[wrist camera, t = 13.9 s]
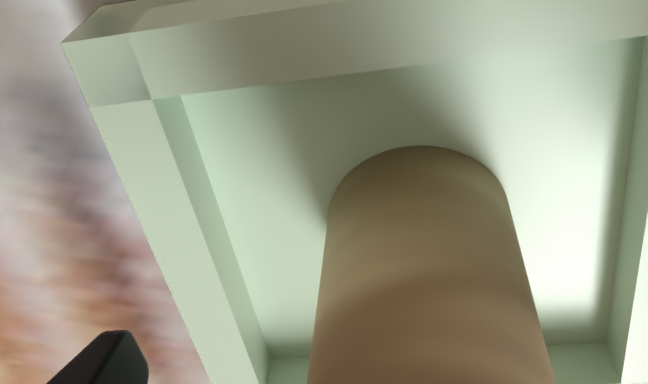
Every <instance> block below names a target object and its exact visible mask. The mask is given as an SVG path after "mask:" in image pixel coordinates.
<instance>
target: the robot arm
mask: <svg viewBox="0 0 648 384" xmlns="http://www.w3.org/2000/svg"><path fill="white" fill-rule="evenodd" d="M148 378H149V368H148V364H147V361H146V359H145V357H144V355H143V353H142V351H141V349H140V348H139V346H138V344H137V342H136V340H135V338H134V336H133V335H132V333H131V332H129V331H128V330H114V331H105V332H103V333H101V334H100V335H98V336H97V337H96V338H95V339H94V340H93V341H92V342H91V343H90V344H89V345H87V346H86V347H85V348H84V349H83V350H82V351H81V352H80V353H79V354H78V355H77V356H76V357H74V358H73V359H72V360H71V361H70V362H69V363H68V364H67V365H66V366H65V367H64V368H63V369H62V370H60V371H59V372H58V373H57V374H56V375H55V376H54V377H53V378H52V379H51V380H50V381H49V382H47V383H46V384H148Z"/></svg>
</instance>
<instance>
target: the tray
mask: <svg viewBox="0 0 648 384" xmlns="http://www.w3.org/2000/svg"><path fill="white" fill-rule="evenodd" d="M60 45H61V47H62V49H63V52H64V54H65V56H66V58H67V61H68V63H69V65H70V67H71V70H72V72H73V74H74V76H75V79H76V81H77V83H78V85H79V88H80V90H81V92H82V94H83V96H84V99H85V101H86V103H87V105H88V108H89V110H90V112H91V114H92V117H93V119H94V121H95V123H96V126H97V128H98V130H99V132H100V135H101V137H102V139H103V141H104V144H105V146H106V148H107V150H108V153H109V155H110V157H111V159H112V162H113V164H114V166H115V168H116V171H117V173H118V175H119V177H120V179H121V182H122V184H123V186H124V188H125V191H126V193H127V195H128V197H129V200H130V202H131V204H132V206H133V209H134V211H135V213H136V215H137V218H138V220H139V222H140V224H141V227H142V229H143V231H144V233H145V236H146V238H147V240H148V242H149V245H150V247H151V249H152V251H153V254H154V256H155V258H156V260H157V262H158V265H159V267H160V269H161V271H162V274H163V276H164V278H165V280H166V283H167V285H168V287H169V289H170V292H171V294H172V296H173V298H174V301H175V303H176V305H177V307H178V310H179V312H180V314H181V316H182V319H183V321H184V323H185V325H186V328H187V330H188V332H189V334H190V337H191V339H192V341H193V343H194V345H195V348H196V350H197V352H198V354H199V357H200V359H201V361H202V363H203V366H204V368H205V370H206V372H207V375H208V377H209V379H210V381H211V384H307V378H308V370H309V362H310V354H311V347H312V339H313V331H314V323H315V316H316V308H317V300H318V292H319V285H320V277H321V269H322V261H323V254H324V246H325V238H326V230H327V223H328V215H329V208H330V203H331V200H332V197H333V195H334V192H335V191H336V189H337V187H338V185H339V184H340V182H341V181H342V180H343V179H344V177H345V176H346V175H347V174H348V173H349V172H350V171H351V170H352V169H353V168H355V167H356V166H357V165H359V164H360V163H362V162H363V161H365V160H367V159H368V158H370V157H372V156H374V155H377V154H379V153H381V152H384V151H387V150H391V149H394V148H399V147H405V146H418V145H425V146H437V147H443V148H448V149H451V150H455V151H458V152H461V153H463V154H465V155H467V156H470V157H472V158H473V159H475V160H477V161H478V162H480V163H481V164H482V165H484V166H485V167H486V168H488V169H489V170H490V171H491V172H492V173H493V175H494V176H495V177H496V178H497V179H498V181H499V182H500V184H501V185H502V187H503V189H504V191H505V193H506V196H507V199H508V203H509V207H510V211H511V215H512V218H513V222H514V226H515V230H516V234H517V238H518V241H519V245H520V249H521V253H522V257H523V261H524V265H525V268H526V272H527V276H528V280H529V284H530V288H531V291H532V295H533V299H534V303H535V307H536V311H537V314H538V318H539V322H540V326H541V330H542V334H543V337H544V341H545V345H546V349H547V353H548V357H549V361H550V364H551V368H552V372H553V376H554V380H555V384H648V0H135V1H129V2H123V3H116V4H110V5H104V6H100V7H99V8H98V9H97V10H96V11H95V12H94V13H93V14H91V15H90V16H89V17H88V18H87V19H86V20H85V21H84V22H83V23H82V24H80V25H79V26H78V27H77V28H76V29H75V30H74V31H73V32H72V33H71V34H70V35H68V36H67V37H66V38H65V39H64V40H63V41H62V42H61V43H60Z"/></svg>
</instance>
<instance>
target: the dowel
mask: <svg viewBox="0 0 648 384" xmlns="http://www.w3.org/2000/svg"><path fill="white" fill-rule="evenodd" d="M307 384H555V380H554V376H553V372H552V368H551V364H550V361H549V357H548V353H547V349H546V345H545V341H544V337H543V334H542V330H541V326H540V322H539V318H538V314H537V311H536V307H535V303H534V299H533V295H532V291H531V288H530V284H529V280H528V276H527V272H526V268H525V265H524V261H523V257H522V253H521V249H520V245H519V241H518V238H517V234H516V230H515V226H514V222H513V218H512V215H511V211H510V207H509V203H508V199H507V196H506V193H505V191H504V189H503V187H502V185H501V184H500V182H499V181H498V179H497V178H496V177H495V176H494V175H493V173H492V172H491V171H490V170H489V169H488V168H486V167H485V166H484V165H482V164H481V163H480V162H478V161H477V160H475V159H473V158H472V157H470V156H467V155H465V154H463V153H461V152H458V151H455V150H451V149H448V148H443V147H437V146H425V145H418V146H405V147H399V148H394V149H391V150H387V151H384V152H381V153H379V154H377V155H374V156H372V157H370V158H368V159H367V160H365V161H363V162H362V163H360V164H359V165H357V166H356V167H355V168H353V169H352V170H351V171H350V172H349V173H348V174H347V175H346V176H345V177H344V179H343V180H342V181H341V182H340V184H339V185H338V187H337V189H336V191H335V192H334V195H333V197H332V200H331V203H330V208H329V215H328V223H327V230H326V238H325V246H324V254H323V261H322V269H321V277H320V285H319V292H318V300H317V308H316V316H315V323H314V331H313V339H312V347H311V354H310V362H309V370H308V378H307Z"/></svg>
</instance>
